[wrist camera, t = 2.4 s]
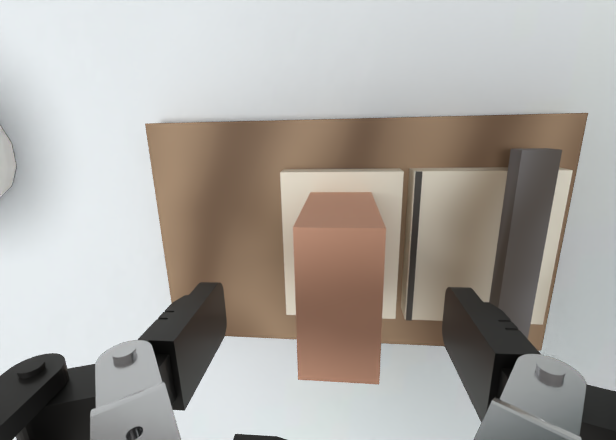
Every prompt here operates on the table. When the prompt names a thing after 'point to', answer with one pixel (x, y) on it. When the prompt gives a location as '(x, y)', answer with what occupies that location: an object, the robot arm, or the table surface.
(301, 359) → the stub
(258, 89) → the table surface
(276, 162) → the stand
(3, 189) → the foam cup
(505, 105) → the table surface
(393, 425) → the table surface
